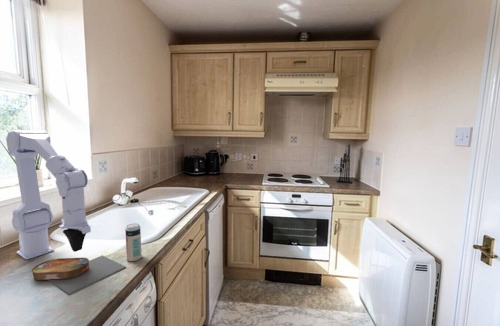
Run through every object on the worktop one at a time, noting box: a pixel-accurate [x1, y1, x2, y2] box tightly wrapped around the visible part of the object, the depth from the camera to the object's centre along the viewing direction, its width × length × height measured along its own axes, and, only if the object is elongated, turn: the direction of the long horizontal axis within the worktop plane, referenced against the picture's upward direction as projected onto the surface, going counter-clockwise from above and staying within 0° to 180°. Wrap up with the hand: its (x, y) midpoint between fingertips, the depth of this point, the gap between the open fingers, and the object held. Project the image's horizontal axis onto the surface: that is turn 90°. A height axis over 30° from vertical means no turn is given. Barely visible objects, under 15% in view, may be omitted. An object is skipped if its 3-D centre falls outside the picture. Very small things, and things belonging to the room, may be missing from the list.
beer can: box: [124, 223, 142, 262], centre depth 84 cm, size 5×5×12 cm
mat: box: [48, 255, 127, 296], centre depth 75 cm, size 14×16×1 cm
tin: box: [31, 257, 89, 281], centre depth 74 cm, size 15×3×8 cm
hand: (77, 250), depth 78 cm, fingers closed
